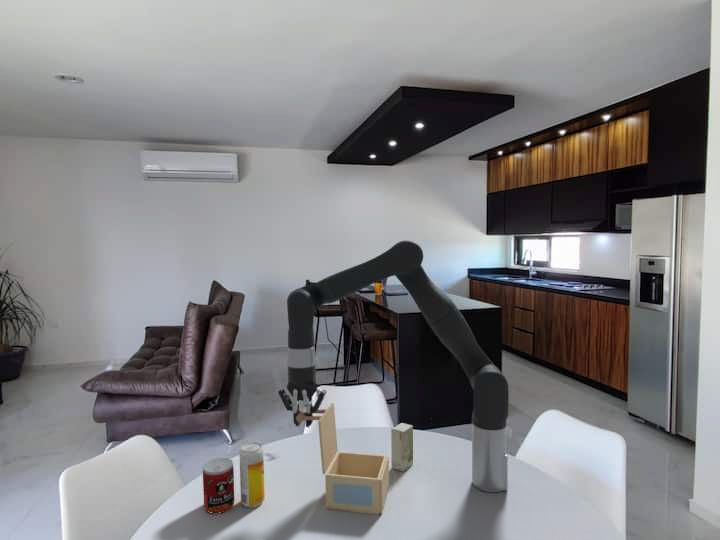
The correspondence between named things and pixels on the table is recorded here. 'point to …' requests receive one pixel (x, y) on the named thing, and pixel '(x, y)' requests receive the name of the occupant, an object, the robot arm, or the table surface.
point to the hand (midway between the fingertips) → (303, 425)
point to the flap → (324, 433)
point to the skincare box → (402, 446)
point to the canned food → (218, 485)
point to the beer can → (252, 474)
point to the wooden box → (357, 483)
